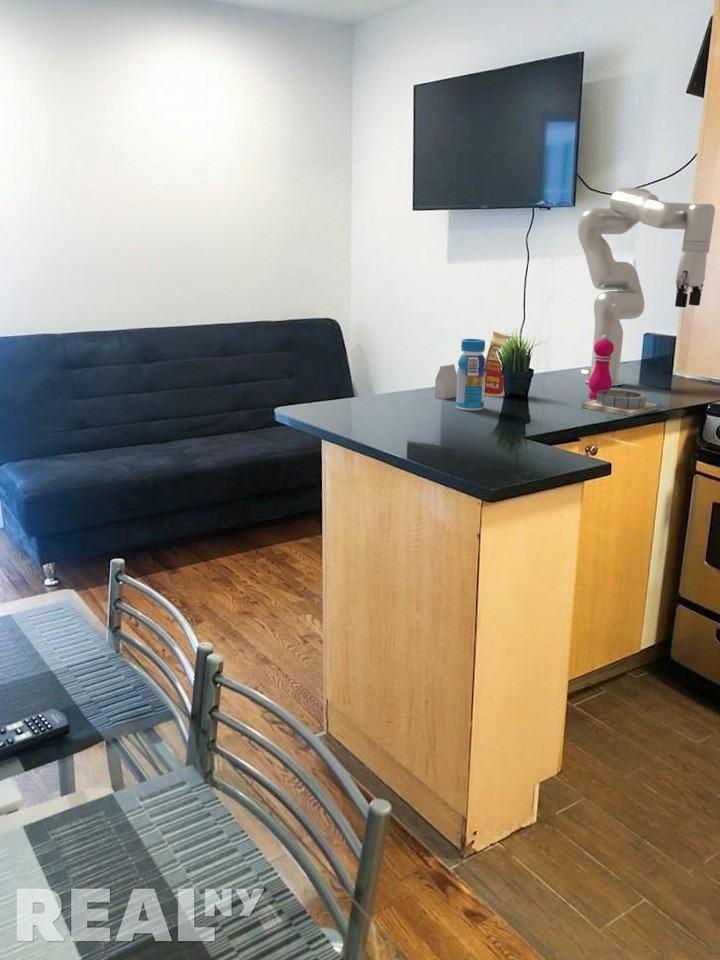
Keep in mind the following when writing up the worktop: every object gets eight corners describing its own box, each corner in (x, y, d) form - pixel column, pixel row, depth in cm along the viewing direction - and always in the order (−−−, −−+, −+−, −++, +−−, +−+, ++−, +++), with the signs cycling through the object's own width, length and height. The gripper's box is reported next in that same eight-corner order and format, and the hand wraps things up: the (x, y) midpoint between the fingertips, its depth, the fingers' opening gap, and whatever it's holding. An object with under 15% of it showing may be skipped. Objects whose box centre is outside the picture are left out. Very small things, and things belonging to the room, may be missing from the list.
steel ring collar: (587, 403, 243) (587, 393, 242) (611, 397, 252) (612, 387, 251) (630, 410, 233) (631, 400, 232) (653, 404, 242) (654, 394, 242)
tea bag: (457, 396, 257) (458, 365, 255) (444, 399, 253) (445, 367, 250) (447, 394, 260) (449, 363, 257) (434, 397, 255) (436, 365, 252)
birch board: (581, 407, 243) (582, 402, 243) (609, 401, 254) (610, 396, 253) (630, 416, 232) (631, 411, 232) (657, 409, 243) (658, 404, 242)
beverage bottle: (449, 408, 240) (452, 339, 234) (466, 404, 246) (470, 337, 240) (472, 412, 234) (477, 342, 228) (489, 408, 240) (494, 340, 234)
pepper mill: (598, 401, 254) (604, 336, 248) (582, 397, 260) (588, 333, 254) (615, 399, 257) (622, 335, 251) (599, 395, 263) (605, 333, 258)
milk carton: (479, 395, 260) (483, 332, 254) (486, 390, 268) (490, 329, 263) (507, 397, 257) (512, 333, 251) (513, 392, 265) (518, 330, 259)
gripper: (695, 246, 250) (687, 303, 256) (671, 247, 238) (662, 306, 244) (719, 248, 245) (710, 305, 251) (696, 248, 233) (687, 308, 239)
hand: (687, 306), depth 247 cm, fingers open, 9 cm apart
